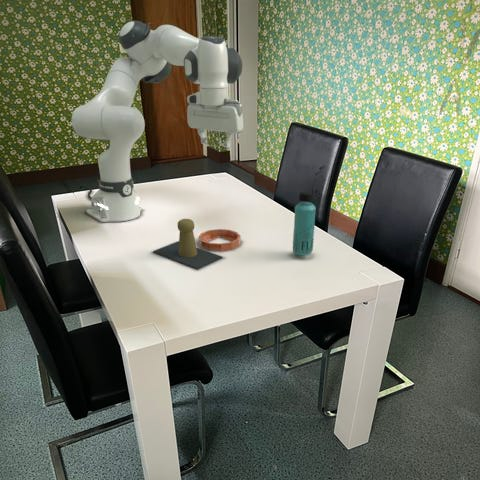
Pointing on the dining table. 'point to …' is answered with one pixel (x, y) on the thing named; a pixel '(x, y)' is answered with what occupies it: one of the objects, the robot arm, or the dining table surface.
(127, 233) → the dining table surface
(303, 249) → the beverage bottle
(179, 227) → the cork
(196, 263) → the mat
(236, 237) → the orange ring
